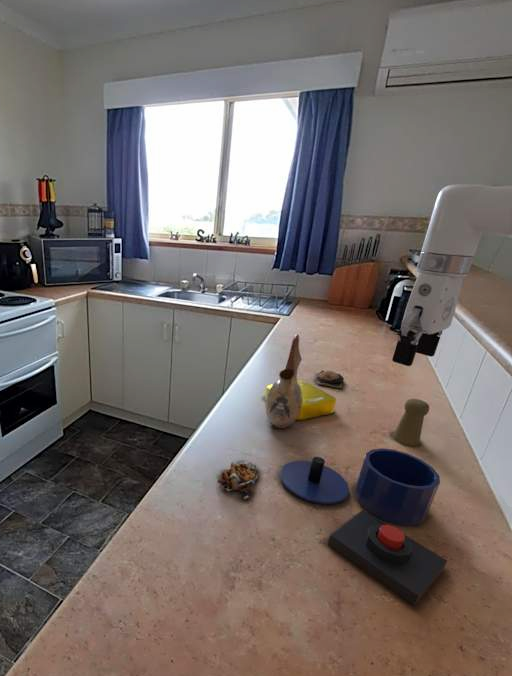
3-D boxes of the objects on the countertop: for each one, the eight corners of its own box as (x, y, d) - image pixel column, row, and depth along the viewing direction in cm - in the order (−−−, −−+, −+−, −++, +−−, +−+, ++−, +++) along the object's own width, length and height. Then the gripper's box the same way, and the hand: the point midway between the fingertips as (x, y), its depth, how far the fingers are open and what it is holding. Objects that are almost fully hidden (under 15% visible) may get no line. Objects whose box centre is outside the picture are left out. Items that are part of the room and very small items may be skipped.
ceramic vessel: (269, 407, 115) (283, 324, 105) (301, 415, 111) (319, 329, 102) (255, 433, 101) (271, 340, 91) (291, 443, 98) (312, 347, 88)
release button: (405, 543, 65) (408, 535, 64) (395, 553, 63) (398, 545, 62) (383, 529, 67) (386, 521, 67) (373, 538, 65) (375, 530, 65)
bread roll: (342, 390, 129) (345, 380, 128) (315, 384, 132) (317, 374, 131) (342, 378, 138) (345, 368, 137) (317, 373, 141) (319, 364, 140)
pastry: (262, 469, 87) (264, 455, 86) (248, 501, 77) (250, 486, 76) (231, 459, 90) (233, 446, 89) (214, 489, 80) (215, 475, 79)
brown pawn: (397, 443, 100) (410, 405, 96) (389, 431, 105) (401, 394, 101) (423, 447, 99) (437, 408, 95) (413, 434, 105) (426, 397, 100)
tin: (436, 508, 78) (450, 472, 75) (408, 535, 71) (422, 498, 68) (373, 474, 87) (383, 442, 84) (342, 496, 80) (352, 461, 77)
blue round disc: (360, 490, 82) (367, 465, 80) (323, 516, 75) (330, 490, 72) (303, 457, 92) (309, 435, 90) (266, 478, 84) (270, 454, 82)
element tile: (296, 421, 108) (299, 405, 106) (261, 397, 120) (264, 383, 119) (336, 412, 114) (340, 397, 112) (299, 391, 126) (302, 377, 125)
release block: (443, 570, 64) (451, 552, 63) (413, 606, 58) (422, 587, 57) (359, 518, 75) (365, 501, 73) (327, 544, 68) (332, 526, 67)
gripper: (448, 270, 60) (414, 375, 66) (486, 265, 70) (453, 357, 76) (397, 263, 65) (370, 360, 72) (438, 260, 75) (412, 345, 82)
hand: (413, 358), depth 74 cm, fingers open, 9 cm apart
